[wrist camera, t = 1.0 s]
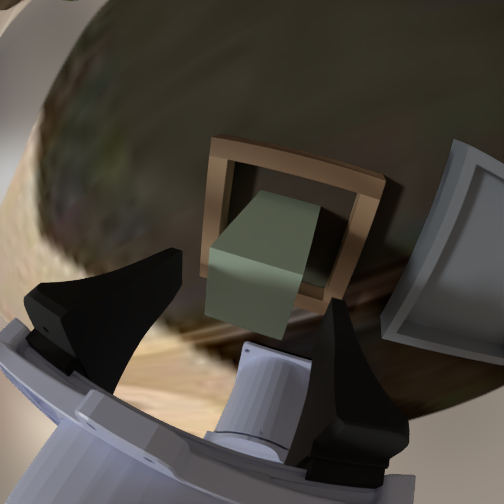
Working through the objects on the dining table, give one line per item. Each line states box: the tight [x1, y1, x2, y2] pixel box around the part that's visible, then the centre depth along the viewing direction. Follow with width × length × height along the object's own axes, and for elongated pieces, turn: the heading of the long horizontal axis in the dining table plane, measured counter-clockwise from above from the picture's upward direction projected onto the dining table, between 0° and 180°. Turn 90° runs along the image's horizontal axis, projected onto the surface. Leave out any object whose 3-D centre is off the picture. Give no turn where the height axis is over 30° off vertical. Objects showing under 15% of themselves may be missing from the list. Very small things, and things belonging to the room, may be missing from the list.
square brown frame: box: [200, 134, 386, 315], centre depth 19 cm, size 10×10×2 cm
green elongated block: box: [205, 190, 321, 340], centre depth 16 cm, size 4×4×8 cm
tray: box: [380, 139, 504, 365], centre depth 15 cm, size 14×14×2 cm
